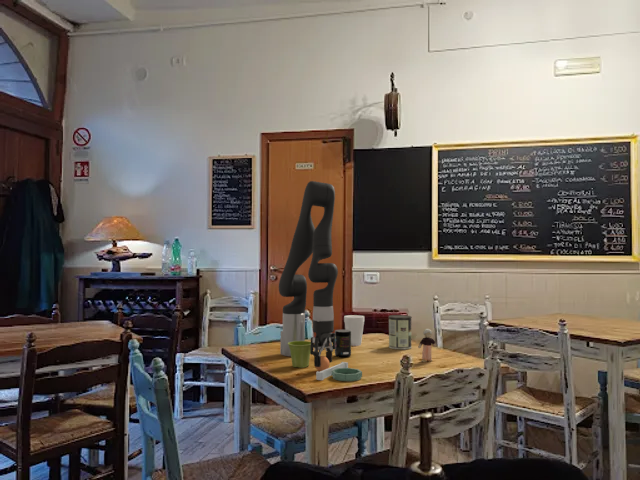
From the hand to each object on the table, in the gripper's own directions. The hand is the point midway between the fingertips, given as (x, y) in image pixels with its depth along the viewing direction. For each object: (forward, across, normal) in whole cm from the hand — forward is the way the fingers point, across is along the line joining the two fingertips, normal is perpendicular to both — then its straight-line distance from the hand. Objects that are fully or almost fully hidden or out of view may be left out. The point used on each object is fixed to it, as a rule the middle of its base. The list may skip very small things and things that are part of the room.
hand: (323, 364), depth 180 cm
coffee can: (+2, -59, +7) cm, 59 cm away
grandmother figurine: (+3, -37, +27) cm, 46 cm away
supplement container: (+2, -28, -6) cm, 29 cm away
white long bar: (+3, +2, +5) cm, 6 cm away
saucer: (+3, +4, +11) cm, 12 cm away
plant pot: (+3, -3, -12) cm, 12 cm away
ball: (0, 0, 0) cm, 1 cm away
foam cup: (+2, -55, -14) cm, 57 cm away
